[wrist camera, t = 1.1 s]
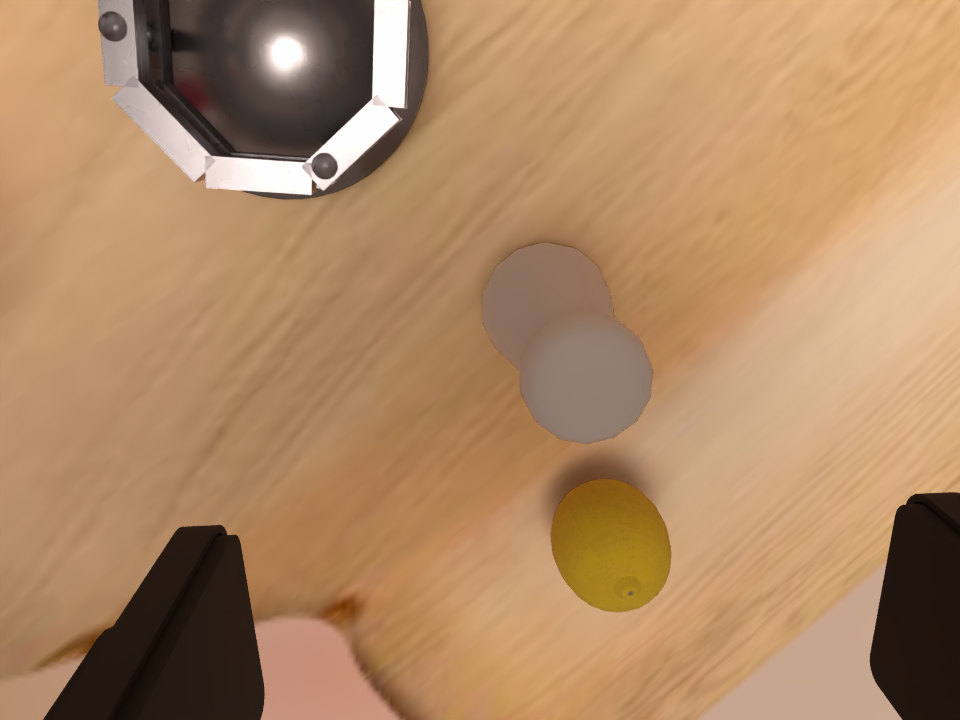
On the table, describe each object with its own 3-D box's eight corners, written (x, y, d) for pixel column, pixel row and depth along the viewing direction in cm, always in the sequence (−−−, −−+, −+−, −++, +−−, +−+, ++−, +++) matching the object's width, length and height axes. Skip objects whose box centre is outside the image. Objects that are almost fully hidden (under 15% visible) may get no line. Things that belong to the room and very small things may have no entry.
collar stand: (421, 206, 33) (419, 221, 29) (142, 188, 32) (94, 200, 28) (436, -104, 29) (435, -144, 25) (119, -135, 28) (58, -182, 24)
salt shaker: (616, 320, 36) (710, 430, 23) (510, 371, 36) (548, 504, 24) (568, 212, 34) (643, 269, 22) (458, 267, 34) (469, 353, 22)
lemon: (561, 558, 40) (590, 663, 32) (526, 475, 38) (548, 565, 31) (657, 523, 39) (709, 620, 32) (625, 437, 38) (672, 518, 30)
